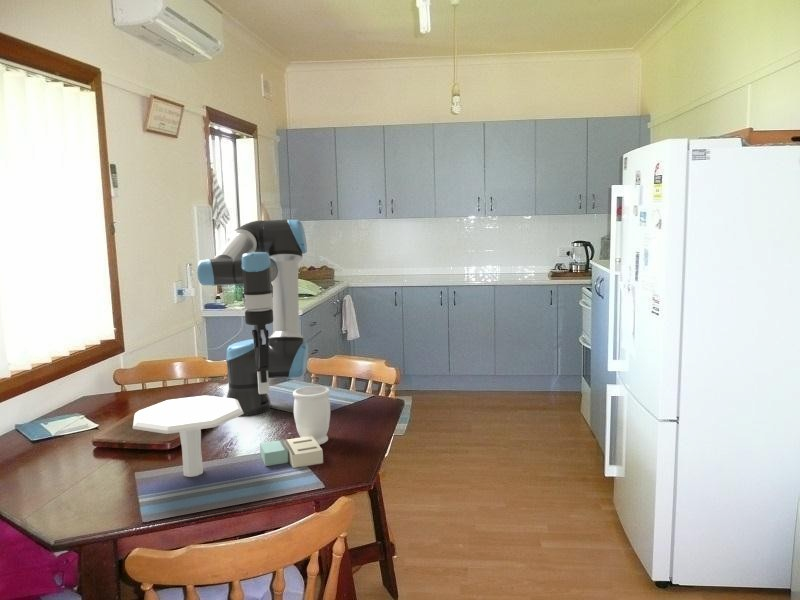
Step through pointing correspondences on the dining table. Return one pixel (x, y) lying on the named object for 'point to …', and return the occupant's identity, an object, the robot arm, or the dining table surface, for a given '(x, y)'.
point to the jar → (312, 412)
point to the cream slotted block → (303, 451)
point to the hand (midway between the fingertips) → (263, 393)
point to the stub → (274, 452)
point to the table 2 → (188, 423)
